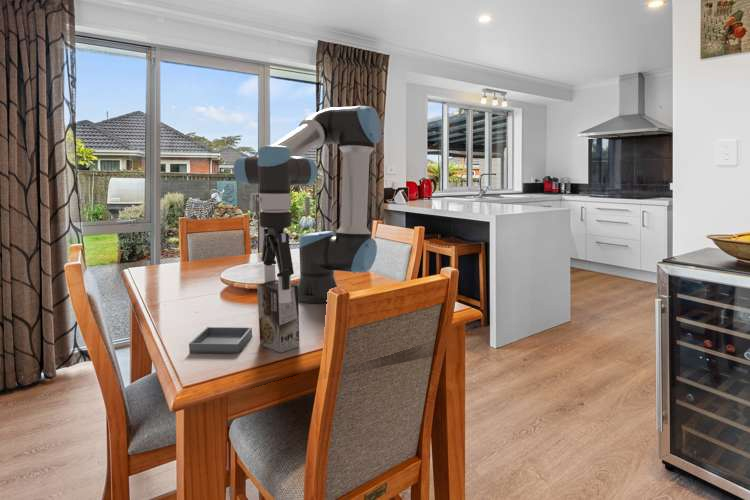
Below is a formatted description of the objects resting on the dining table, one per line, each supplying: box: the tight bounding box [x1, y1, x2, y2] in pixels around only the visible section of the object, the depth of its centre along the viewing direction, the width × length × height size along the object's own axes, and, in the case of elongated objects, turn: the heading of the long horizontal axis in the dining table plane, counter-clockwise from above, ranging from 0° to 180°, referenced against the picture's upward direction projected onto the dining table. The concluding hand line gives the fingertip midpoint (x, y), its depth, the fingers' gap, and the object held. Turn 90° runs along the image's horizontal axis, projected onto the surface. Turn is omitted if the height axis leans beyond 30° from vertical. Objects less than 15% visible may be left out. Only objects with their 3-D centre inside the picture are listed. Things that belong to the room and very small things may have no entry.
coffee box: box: [256, 279, 301, 353], centre depth 116 cm, size 9×6×16 cm
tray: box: [188, 326, 253, 355], centre depth 118 cm, size 12×12×2 cm
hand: (277, 295), depth 115 cm, fingers open, 13 cm apart
